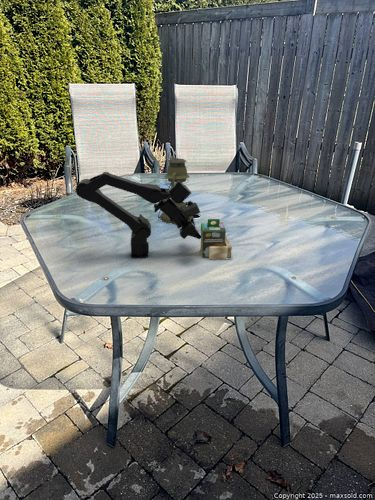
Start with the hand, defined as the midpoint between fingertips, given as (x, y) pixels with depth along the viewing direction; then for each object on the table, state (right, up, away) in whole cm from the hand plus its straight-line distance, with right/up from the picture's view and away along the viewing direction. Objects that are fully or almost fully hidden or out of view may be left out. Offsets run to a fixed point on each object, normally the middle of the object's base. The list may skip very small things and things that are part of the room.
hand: (200, 237), depth 150 cm
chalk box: (+5, -6, +3) cm, 9 cm away
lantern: (-11, +11, +43) cm, 45 cm away
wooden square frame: (+7, -6, +4) cm, 10 cm away
